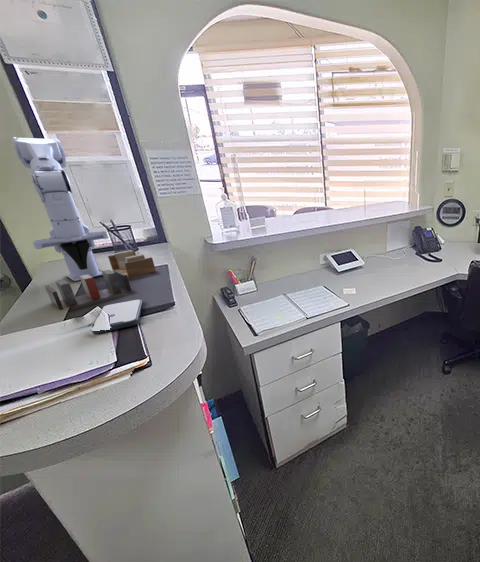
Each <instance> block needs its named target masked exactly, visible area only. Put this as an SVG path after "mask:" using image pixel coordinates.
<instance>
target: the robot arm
mask: <svg viewBox="0 0 480 562" xmlns="http://www.w3.org/2000/svg"><path fill="white" fill-rule="evenodd" d="M11 142H12V144H13V148H14V150H15V153H16V155H17V157H18V159H19V160H20V162H21V164H22V165H24V167H25V168H27V169H31V173H30V179H31V181H32V184H33V187H34V189H35V192H36V193H37V195H38V196H39V198H40V201H41V202H42V203H43V206H44V209H45V212H46V214H47V216H48V219H49V222H50V224H51V227H50V228H49V231H48V232H49V235H50V237H47V238H40V239H36V240H32V241H31V242H32V244H33V246H34V249H36V250H42V249H45V248H50V247H51V248H54V250H55V252H56V253H58V254H62V255H63V258H64V262H65V264H66V267H67V270H68V272H69V273H68V274H66V277H68V278H69V279H71V280H72V281H73V282H78V281H81V279H80V276H82V275H87V274H88V275H90V276H91V277H93V278H95V277H101V276H103V274H102V271H101V270H99V268H98V264H97V262H96V259H95V256H94V252H93V249H94V248H95V247H96V244H95V241H96V240H107V239H109V236H108V233H107V231H105V230H101V231H90V229H89V227H88V226H87V224H84V223H82V220H81V216H80V214H79V212H78V208H77V205H76V203H75V200H74V197H73V187H72V184H71V181H70V178H69V176H68V174H67V172H66V171H65V169H64V168H66V167H67V164H68V163H67V157H66V154H65V151H64V148H63V145H62V142H61V140H59V139H58V138H36V137H34V138H33V137H17V136H13V137H12V139H11Z"/></svg>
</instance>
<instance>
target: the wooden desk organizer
mask: <svg viewBox="0 0 480 562" xmlns="http://www.w3.org/2000/svg"><path fill="white" fill-rule="evenodd" d="M107 258H108V261H109V264H110V267H111V271H113V272H114V271H115V270H118V271H120V272H122V273H124V274H126V275H127V277H128V279H129V278H130V279H131V278H134V277H138V276H142V275H147V274H151V273H154V272H157V270H156V265H155V262H154V259H153V257H146V258H145V255H144V254H136V251H135V250H131V249H129V250H124V251H119V252H114V253H113V254H111V255H107Z"/></svg>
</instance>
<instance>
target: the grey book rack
mask: <svg viewBox="0 0 480 562" xmlns="http://www.w3.org/2000/svg"><path fill="white" fill-rule="evenodd" d="M101 272H102V274H103V275H102V277H103V279H104V282H105V285H106V287H107V288H104V289H101V290H98V292H99V294H100V298H96V299H91V298H90V297H88V296H87V295H86V293H85V294H81V295H78V296H75V294H74V291H73V288H72V285H71V283H70V282H69V281H67V280H66V279H59V280H55V284H56V286H57V289H58V292H59V294H60V296H61V299H62V300H61V299H60V297H59V294H58V292H57V291H56V289H54V288H53V287H51V285H50V284H48V285H44V288H45V290H46V292H47V295H48V297H49V299H50V302H51V304H52V305H53V306H54V307H55V308H57V309H58V310H59V311H62V310H66V309H69V308H73V307H76V306H80V305H85V304H88V303H92V302H95V301H98V300H99V301H100V300H103V299H106V298H110V297H113V296H117V295H120V294H124V293H128V292H132V291H133V290H132V287H131V284H130V280H129V277H127V275H126V274H124V273H122V272H120V271H118V270H115V271H114V272H113V270H112V269H106V270H101Z"/></svg>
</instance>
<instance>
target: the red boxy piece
mask: <svg viewBox="0 0 480 562" xmlns="http://www.w3.org/2000/svg"><path fill="white" fill-rule="evenodd" d="M80 279H81V280H80V281H81V284H82V287H83V289H84V292H85V294H86V295H87V296H88V297H90V298H91V299H96V298H100V294H99V292H98V291H99V288H98V286H97V284H96V281H95V277H91V276H90V275H88V274H87V275H82V276H80Z"/></svg>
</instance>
